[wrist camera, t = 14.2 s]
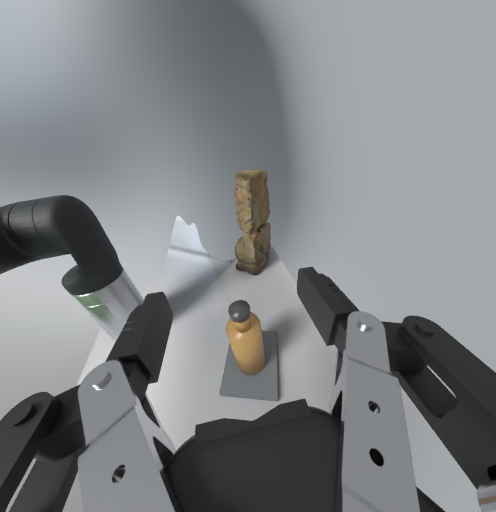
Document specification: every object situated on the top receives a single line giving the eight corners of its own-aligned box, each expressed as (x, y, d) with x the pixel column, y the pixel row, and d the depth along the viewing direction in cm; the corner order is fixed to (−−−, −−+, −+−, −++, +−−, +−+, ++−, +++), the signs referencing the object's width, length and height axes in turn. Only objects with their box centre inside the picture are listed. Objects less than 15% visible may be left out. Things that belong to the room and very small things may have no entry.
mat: (220, 395, 31) (219, 393, 31) (233, 333, 41) (232, 330, 41) (277, 401, 30) (277, 398, 29) (276, 334, 39) (276, 331, 39)
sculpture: (251, 253, 68) (240, 167, 52) (274, 257, 64) (269, 165, 47) (234, 272, 60) (214, 177, 43) (259, 279, 55) (247, 176, 39)
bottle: (234, 374, 33) (215, 324, 25) (239, 344, 37) (225, 294, 29) (264, 376, 32) (255, 325, 24) (266, 346, 36) (259, 294, 28)
